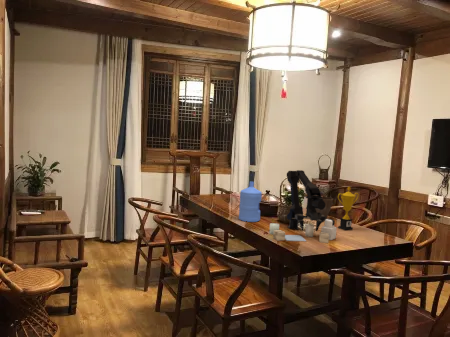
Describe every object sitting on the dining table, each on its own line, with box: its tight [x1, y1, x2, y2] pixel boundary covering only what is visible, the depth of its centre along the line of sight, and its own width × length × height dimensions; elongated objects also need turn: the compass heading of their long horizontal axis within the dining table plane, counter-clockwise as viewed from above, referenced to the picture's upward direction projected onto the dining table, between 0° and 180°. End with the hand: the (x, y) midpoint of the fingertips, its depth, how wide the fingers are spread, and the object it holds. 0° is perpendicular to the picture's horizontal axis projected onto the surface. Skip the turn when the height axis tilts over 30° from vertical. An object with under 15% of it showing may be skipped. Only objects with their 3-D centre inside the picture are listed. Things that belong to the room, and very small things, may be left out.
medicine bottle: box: [320, 218, 338, 241], centre depth 234 cm, size 7×7×12 cm
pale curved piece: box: [268, 222, 280, 236], centre depth 238 cm, size 6×6×6 cm
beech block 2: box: [318, 231, 330, 244], centre depth 226 cm, size 5×5×5 cm
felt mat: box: [285, 234, 307, 242], centre depth 229 cm, size 12×12×1 cm
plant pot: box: [316, 195, 334, 219], centre depth 293 cm, size 15×15×16 cm
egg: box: [304, 223, 315, 238], centre depth 237 cm, size 5×5×7 cm
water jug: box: [238, 181, 263, 223], centre depth 271 cm, size 16×16×28 cm
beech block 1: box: [272, 229, 286, 242], centre depth 225 cm, size 5×5×5 cm
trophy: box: [337, 186, 360, 231], centre depth 260 cm, size 19×10×30 cm, turn 116°
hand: (309, 230), depth 237 cm, fingers open, 9 cm apart
